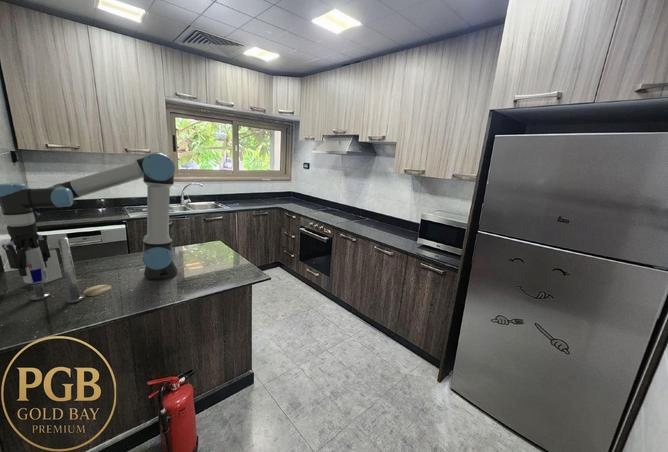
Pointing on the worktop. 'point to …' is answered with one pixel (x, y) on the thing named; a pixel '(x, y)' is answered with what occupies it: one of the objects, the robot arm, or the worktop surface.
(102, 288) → the coaster
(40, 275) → the beverage can
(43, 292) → the post
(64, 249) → the post
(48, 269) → the milk carton
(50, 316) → the worktop surface
